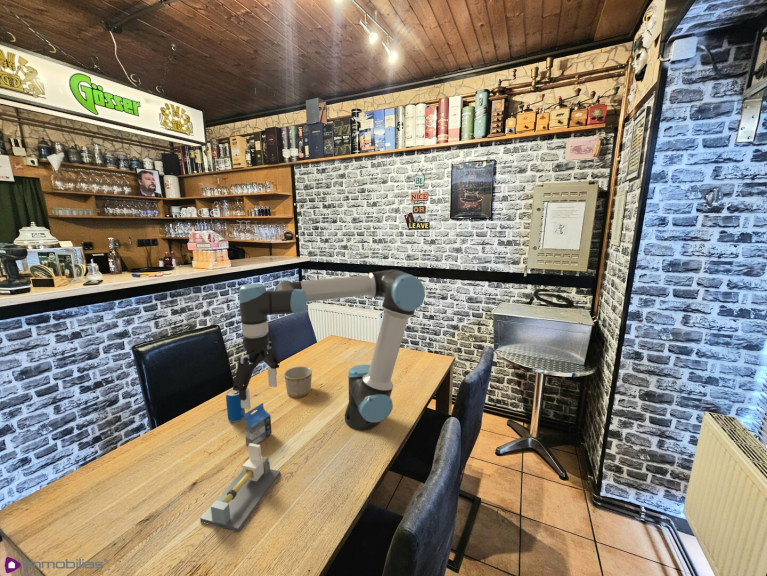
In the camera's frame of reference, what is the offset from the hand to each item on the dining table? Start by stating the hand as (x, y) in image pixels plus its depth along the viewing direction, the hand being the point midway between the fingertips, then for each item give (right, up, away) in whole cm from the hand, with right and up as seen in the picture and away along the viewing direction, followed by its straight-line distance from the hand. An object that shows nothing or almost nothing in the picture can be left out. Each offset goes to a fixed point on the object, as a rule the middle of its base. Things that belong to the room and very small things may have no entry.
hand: (260, 396), depth 101 cm
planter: (-1, -15, +49) cm, 52 cm away
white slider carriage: (-1, -23, -4) cm, 24 cm away
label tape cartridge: (-7, -22, +16) cm, 28 cm away
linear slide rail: (-2, -27, -8) cm, 28 cm away
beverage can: (-21, -19, +29) cm, 41 cm away
